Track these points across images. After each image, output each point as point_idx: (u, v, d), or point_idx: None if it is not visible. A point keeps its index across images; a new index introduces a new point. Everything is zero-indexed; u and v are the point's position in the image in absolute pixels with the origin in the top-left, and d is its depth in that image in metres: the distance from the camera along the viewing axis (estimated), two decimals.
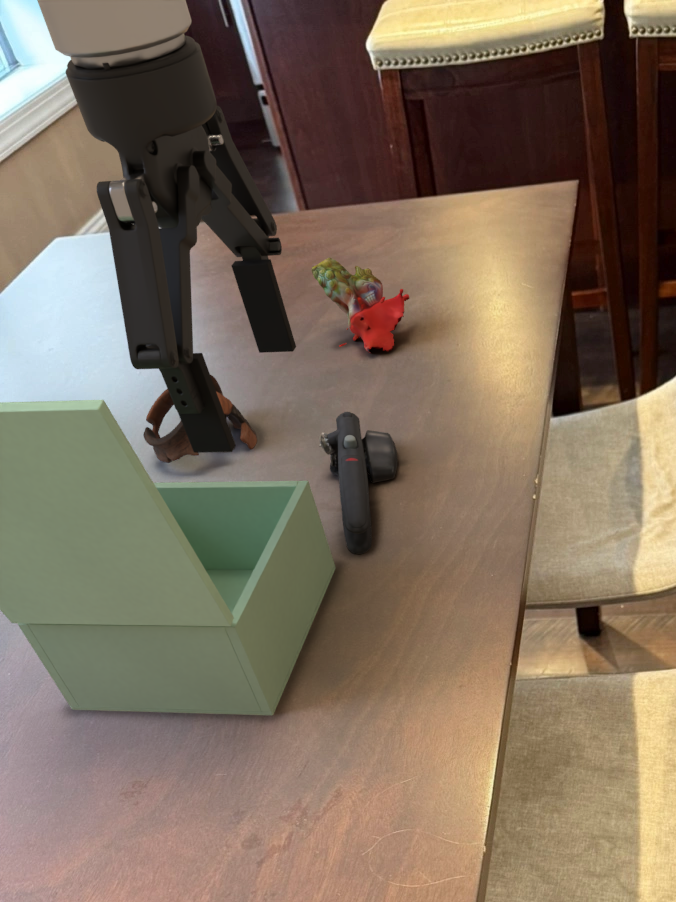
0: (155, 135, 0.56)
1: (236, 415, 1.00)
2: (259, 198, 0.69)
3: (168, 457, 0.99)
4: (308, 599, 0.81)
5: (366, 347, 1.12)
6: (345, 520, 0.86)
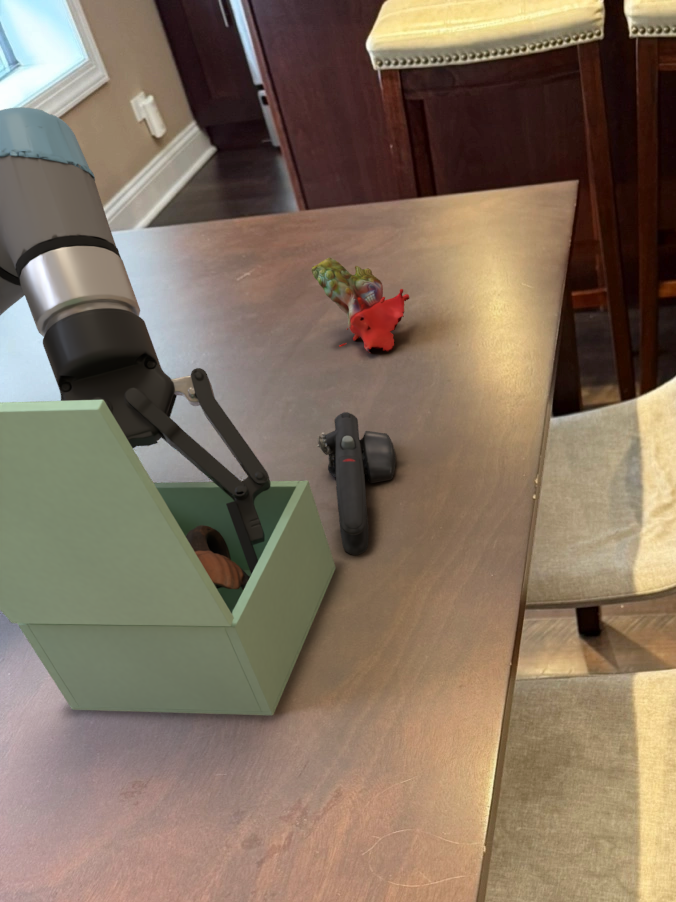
0: None
1: None
2: None
3: None
4: (308, 599, 0.81)
5: (366, 347, 1.12)
6: (341, 521, 0.86)
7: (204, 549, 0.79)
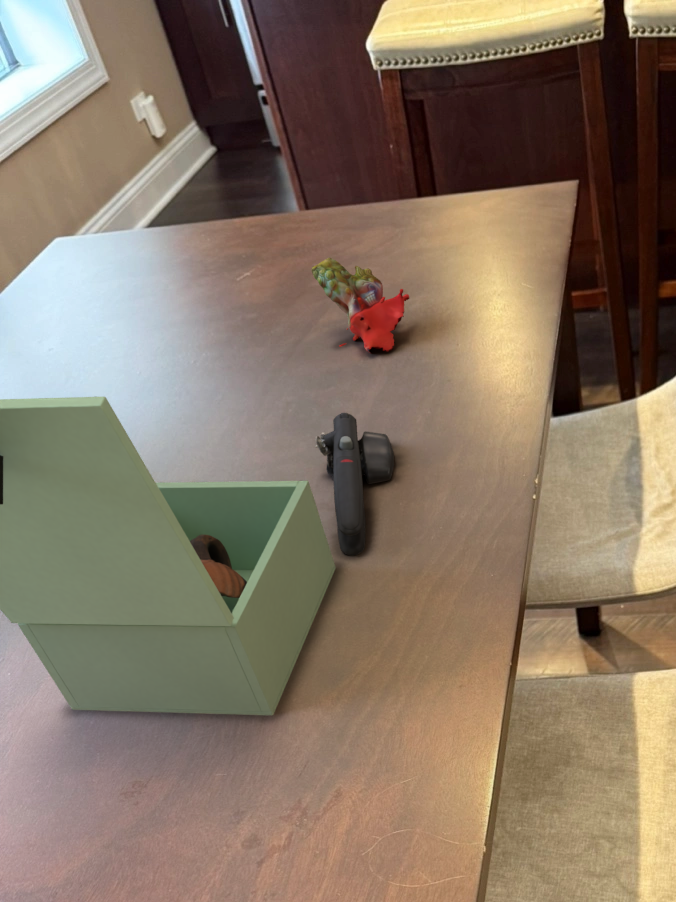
0: None
1: None
2: None
3: None
4: (308, 599, 0.81)
5: (366, 347, 1.12)
6: (338, 522, 0.86)
7: (205, 558, 0.80)
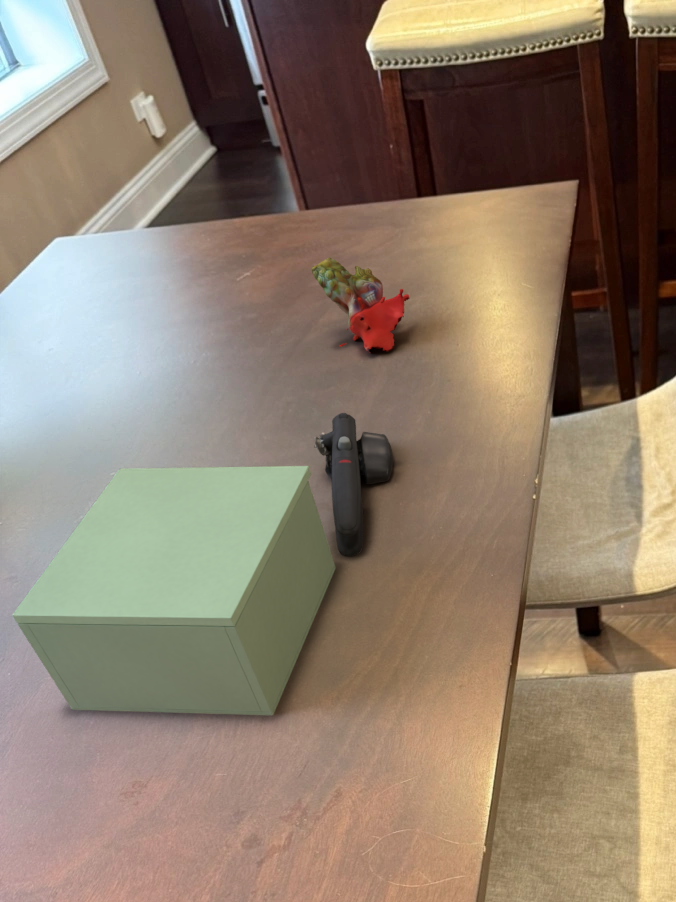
0: None
1: None
2: None
3: None
4: (308, 599, 0.81)
5: (366, 347, 1.12)
6: (336, 522, 0.86)
7: None
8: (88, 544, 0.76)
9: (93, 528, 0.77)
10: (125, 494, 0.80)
